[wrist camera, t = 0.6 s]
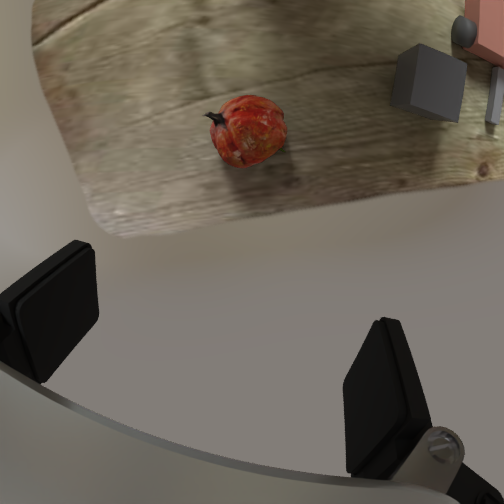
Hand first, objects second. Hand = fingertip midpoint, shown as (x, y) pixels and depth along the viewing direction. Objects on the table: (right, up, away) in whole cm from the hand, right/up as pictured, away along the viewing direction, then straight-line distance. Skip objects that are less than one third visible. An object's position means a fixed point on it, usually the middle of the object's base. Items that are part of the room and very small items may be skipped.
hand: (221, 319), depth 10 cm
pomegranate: (+1, +15, +23) cm, 28 cm away
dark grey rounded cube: (+18, +20, +18) cm, 32 cm away
